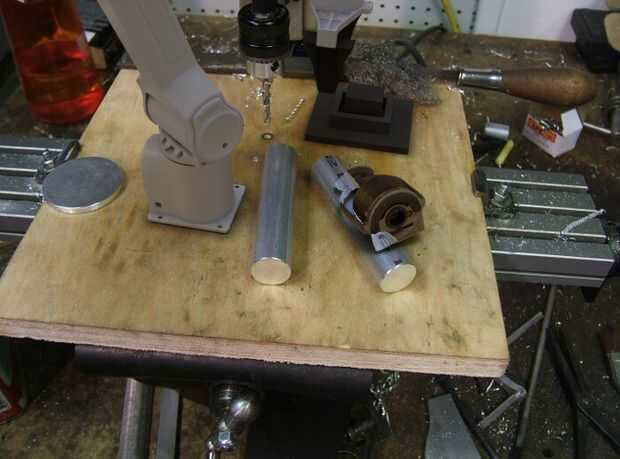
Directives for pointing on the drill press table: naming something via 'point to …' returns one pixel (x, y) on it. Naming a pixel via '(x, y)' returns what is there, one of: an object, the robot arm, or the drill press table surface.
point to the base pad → (361, 124)
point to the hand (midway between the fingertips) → (331, 75)
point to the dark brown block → (364, 99)
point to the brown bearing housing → (385, 204)
